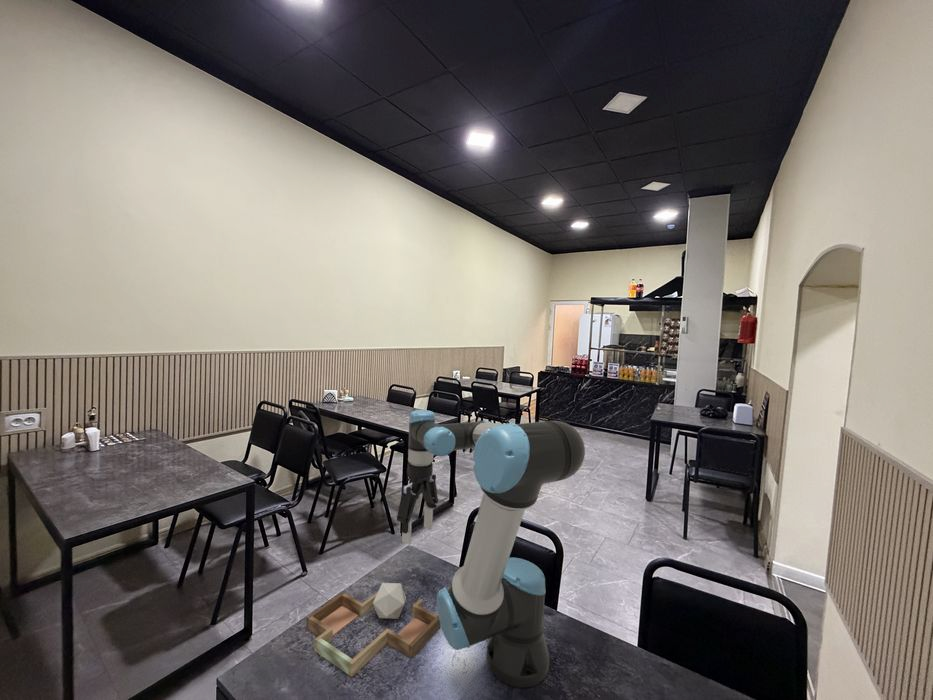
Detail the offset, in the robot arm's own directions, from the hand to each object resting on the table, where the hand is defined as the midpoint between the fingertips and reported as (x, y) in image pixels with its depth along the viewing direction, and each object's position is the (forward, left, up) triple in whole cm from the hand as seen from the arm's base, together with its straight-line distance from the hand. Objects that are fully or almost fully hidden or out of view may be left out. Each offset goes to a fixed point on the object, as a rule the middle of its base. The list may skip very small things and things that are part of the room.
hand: (417, 535), depth 116 cm
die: (0, +11, -18) cm, 21 cm away
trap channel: (0, +17, -18) cm, 25 cm away
